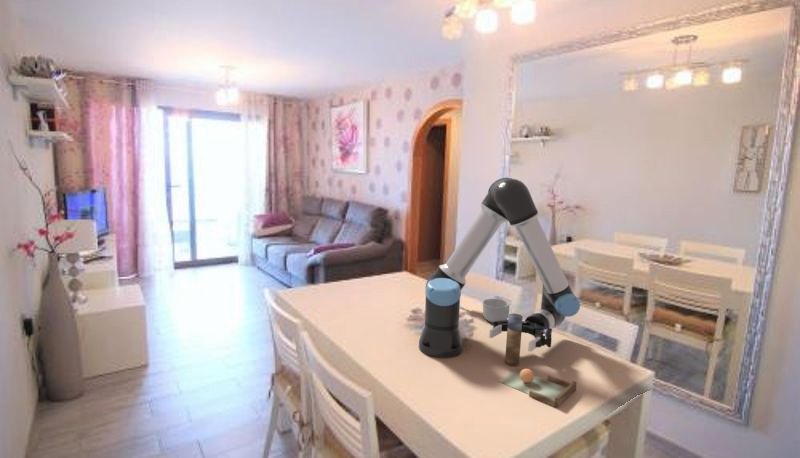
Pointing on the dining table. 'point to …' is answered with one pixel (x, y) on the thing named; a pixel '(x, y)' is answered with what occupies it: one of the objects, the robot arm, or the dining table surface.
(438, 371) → the dining table surface
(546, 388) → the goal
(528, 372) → the ball
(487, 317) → the teacup
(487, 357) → the dining table surface
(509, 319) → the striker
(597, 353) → the dining table surface
